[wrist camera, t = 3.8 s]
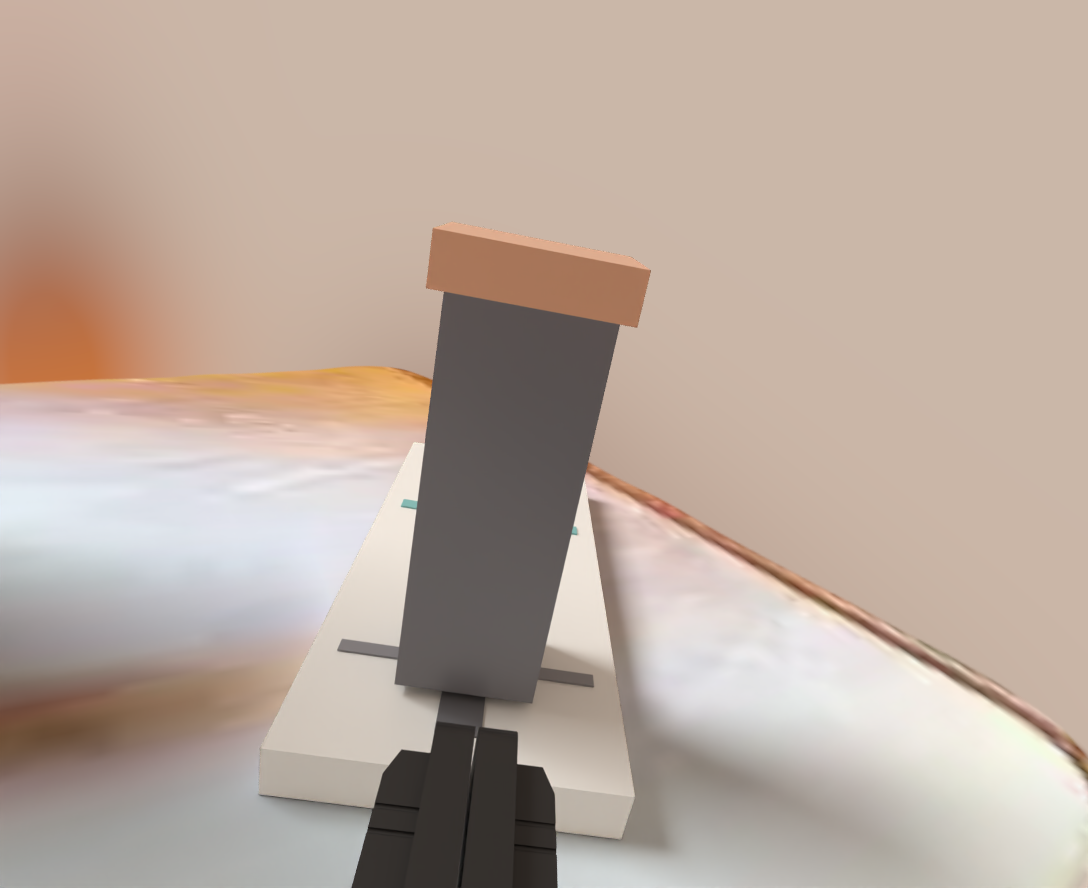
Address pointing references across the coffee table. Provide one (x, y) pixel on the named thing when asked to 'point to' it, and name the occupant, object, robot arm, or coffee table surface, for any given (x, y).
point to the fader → (506, 450)
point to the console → (411, 713)
